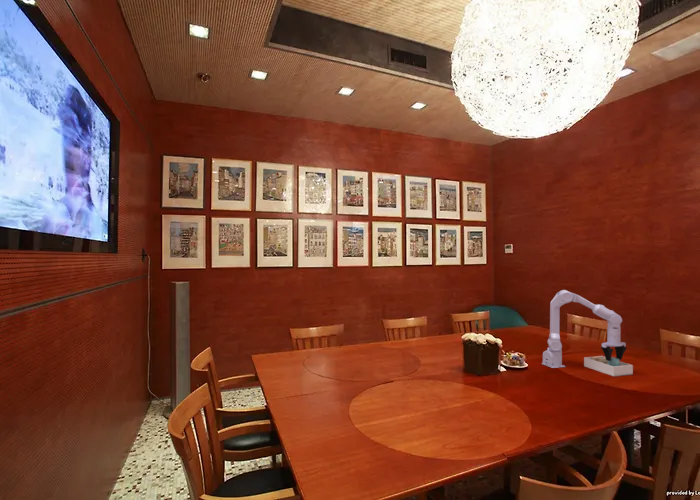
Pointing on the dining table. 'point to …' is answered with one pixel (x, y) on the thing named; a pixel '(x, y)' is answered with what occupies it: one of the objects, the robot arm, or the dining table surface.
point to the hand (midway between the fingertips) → (613, 359)
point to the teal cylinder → (614, 361)
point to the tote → (609, 367)
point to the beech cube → (600, 359)
